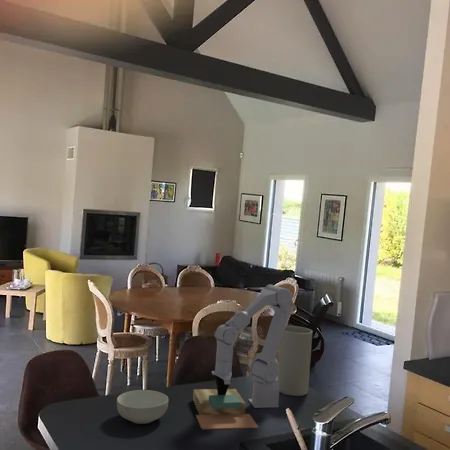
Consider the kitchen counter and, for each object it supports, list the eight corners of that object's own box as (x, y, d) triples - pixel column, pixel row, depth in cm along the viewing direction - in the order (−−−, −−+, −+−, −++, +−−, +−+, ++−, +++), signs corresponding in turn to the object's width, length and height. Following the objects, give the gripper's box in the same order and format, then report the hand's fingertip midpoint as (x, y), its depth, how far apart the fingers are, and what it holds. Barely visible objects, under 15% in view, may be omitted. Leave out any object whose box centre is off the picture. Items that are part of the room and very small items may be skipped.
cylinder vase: (290, 384, 220) (294, 325, 219) (314, 393, 211) (318, 331, 210) (270, 389, 211) (274, 327, 211) (294, 399, 202) (298, 334, 201)
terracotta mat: (249, 414, 183) (249, 413, 183) (258, 427, 173) (258, 426, 173) (195, 415, 179) (195, 415, 179) (201, 429, 168) (201, 428, 168)
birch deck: (234, 399, 197) (235, 389, 197) (244, 414, 184) (245, 402, 183) (192, 400, 193) (193, 389, 193) (199, 415, 180) (200, 403, 180)
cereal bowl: (147, 405, 185) (148, 386, 185) (177, 421, 173) (178, 400, 173) (105, 416, 173) (107, 395, 173) (134, 434, 161) (136, 411, 161)
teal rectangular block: (235, 399, 185) (236, 394, 185) (240, 407, 179) (241, 402, 179) (208, 400, 182) (208, 395, 182) (212, 408, 177) (212, 403, 176)
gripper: (208, 353, 190) (206, 390, 191) (217, 365, 176) (214, 405, 177) (227, 353, 192) (225, 390, 192) (237, 366, 178) (234, 405, 178)
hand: (221, 397), depth 185 cm, fingers closed
